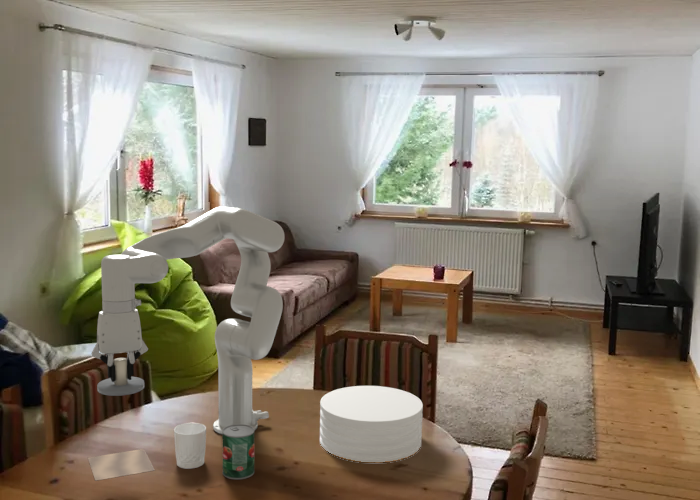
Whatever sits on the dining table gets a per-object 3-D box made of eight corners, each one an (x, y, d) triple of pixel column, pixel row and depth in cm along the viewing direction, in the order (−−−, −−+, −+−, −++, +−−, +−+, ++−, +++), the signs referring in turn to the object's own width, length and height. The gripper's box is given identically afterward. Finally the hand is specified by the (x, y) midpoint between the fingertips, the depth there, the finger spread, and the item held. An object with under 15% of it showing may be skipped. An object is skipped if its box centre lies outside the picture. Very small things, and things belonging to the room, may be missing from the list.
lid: (139, 378, 190) (139, 351, 189) (148, 392, 181) (147, 363, 180) (94, 384, 186) (93, 356, 184) (101, 398, 176) (100, 368, 175)
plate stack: (399, 419, 223) (400, 382, 221) (437, 457, 197) (439, 415, 195) (308, 428, 215) (309, 389, 213) (336, 469, 188) (337, 426, 187)
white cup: (198, 474, 183) (198, 436, 182) (169, 471, 185) (168, 432, 183) (211, 461, 191) (211, 424, 189) (182, 458, 192) (181, 421, 191)
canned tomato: (260, 473, 185) (261, 431, 183) (233, 482, 179) (233, 439, 178) (243, 462, 190) (243, 421, 189) (216, 471, 185) (216, 429, 184)
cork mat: (144, 452, 195) (144, 448, 195) (155, 474, 183) (155, 470, 183) (87, 461, 189) (87, 457, 189) (95, 484, 177) (95, 480, 177)
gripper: (150, 300, 187) (151, 370, 190) (81, 305, 180) (83, 378, 183) (156, 306, 180) (157, 379, 183) (84, 312, 173) (87, 388, 176)
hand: (120, 378), depth 183 cm, fingers closed on lid, 3 cm apart
